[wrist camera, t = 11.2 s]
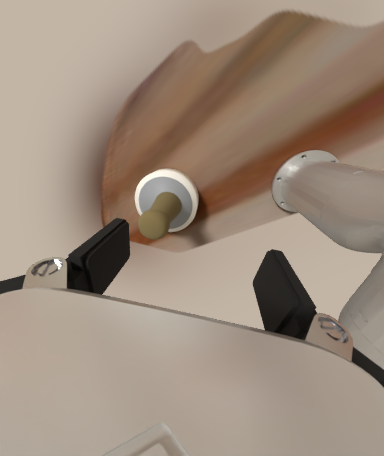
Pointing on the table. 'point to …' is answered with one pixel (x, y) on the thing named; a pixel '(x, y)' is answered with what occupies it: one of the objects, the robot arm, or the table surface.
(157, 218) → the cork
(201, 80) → the table surface
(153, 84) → the table surface
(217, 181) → the table surface
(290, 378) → the robot arm
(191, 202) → the podium
